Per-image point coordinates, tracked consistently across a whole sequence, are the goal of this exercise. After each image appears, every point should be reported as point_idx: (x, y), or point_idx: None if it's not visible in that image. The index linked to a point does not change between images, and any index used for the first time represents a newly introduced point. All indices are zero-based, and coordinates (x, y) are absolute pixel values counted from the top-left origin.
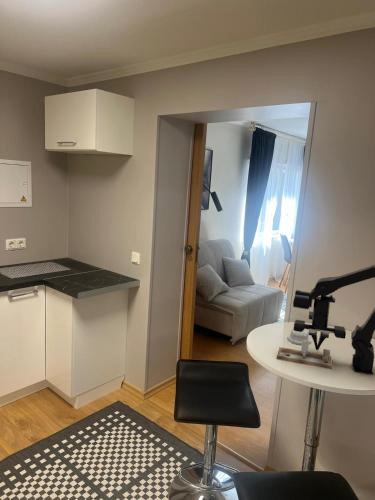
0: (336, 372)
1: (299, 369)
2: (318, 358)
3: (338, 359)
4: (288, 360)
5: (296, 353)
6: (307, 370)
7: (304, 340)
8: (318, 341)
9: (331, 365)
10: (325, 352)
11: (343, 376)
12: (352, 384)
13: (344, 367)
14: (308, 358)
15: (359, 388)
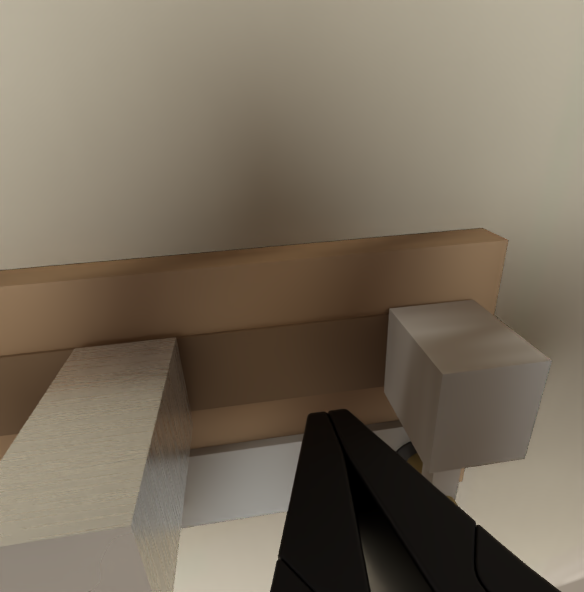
0: (479, 481)
1: (176, 583)
2: (333, 392)
3: (576, 189)
4: None
5: (28, 413)
6: (243, 565)
7: (7, 567)
8: (394, 563)
9: (462, 470)
10: (456, 465)
11: (521, 507)
12: (551, 563)
13: (579, 362)
14: (219, 475)
15: (579, 578)
